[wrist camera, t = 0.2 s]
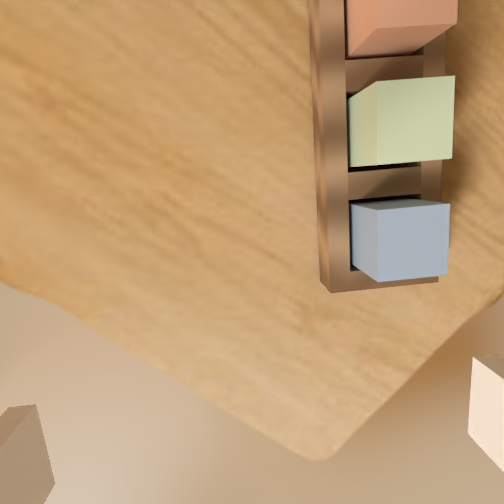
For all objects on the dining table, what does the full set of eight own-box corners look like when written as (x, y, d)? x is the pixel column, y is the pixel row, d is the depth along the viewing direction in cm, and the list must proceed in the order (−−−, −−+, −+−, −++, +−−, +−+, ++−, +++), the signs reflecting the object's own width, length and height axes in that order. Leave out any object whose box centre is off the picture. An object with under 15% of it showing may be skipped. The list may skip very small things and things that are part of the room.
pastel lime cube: (345, 101, 33) (376, 81, 26) (407, 96, 33) (455, 75, 26) (346, 167, 34) (376, 165, 27) (407, 162, 34) (451, 158, 27)
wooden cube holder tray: (306, -32, 32) (317, -60, 28) (423, -38, 33) (449, -67, 29) (320, 281, 39) (330, 293, 35) (417, 271, 39) (438, 281, 35)
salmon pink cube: (342, -15, 31) (375, -70, 24) (409, -19, 31) (460, -75, 24) (344, 60, 32) (376, 28, 25) (408, 55, 32) (457, 23, 25)
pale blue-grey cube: (347, 203, 35) (377, 210, 28) (406, 198, 35) (450, 203, 28) (349, 262, 36) (377, 282, 29) (405, 256, 36) (447, 275, 29)
